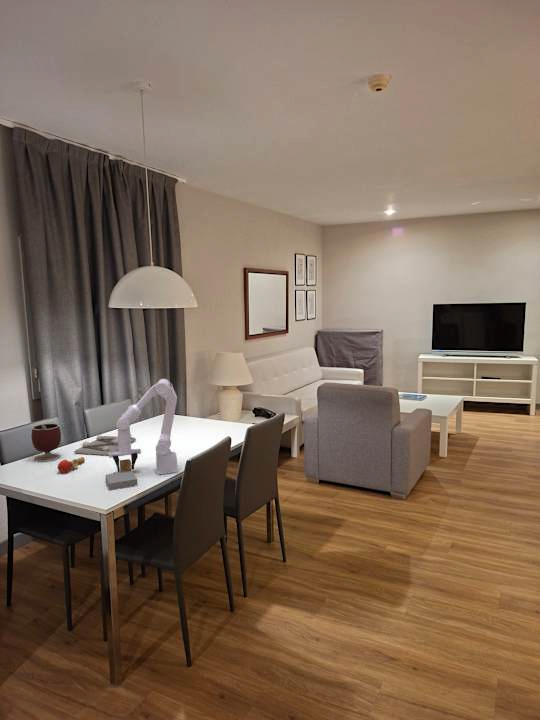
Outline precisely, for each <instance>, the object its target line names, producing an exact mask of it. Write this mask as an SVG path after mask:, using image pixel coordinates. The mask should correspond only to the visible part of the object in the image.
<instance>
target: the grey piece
mask: <svg viewBox="0 0 540 720" xmlns="http://www.w3.org/2000/svg"><path fill="white" fill-rule="evenodd" d="M130 437H131V444H132V443H134V442H136V440H137V439H136V438H135V437H133V436H132V434H130ZM80 445H81V447H80V448H77V449H75V450H74V453H75V454H78V455H89V454H90V455H92V456H104V455H106V456H107V457H109V453H111V452H116V451H119V450H118V436H115V435H114V436H112V435H101V434H98V435H97V436H96V438H95V440H93V441H91V442H90V441H83V443H82V444H80Z"/></svg>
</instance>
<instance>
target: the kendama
mask: <svg viewBox="0 0 540 720" xmlns="http://www.w3.org/2000/svg"><path fill="white" fill-rule="evenodd" d="M85 460H86V459H85V457H83V456H81V457H79V458H76V459H72V460H70V461H69V460H68V459H62V460H61V461H59V463H58V464H57V470H58V472H60V473H62V474H66V473H68V472H70V471H71V470H72V469H74V470H75V469H77V468H78V467H79V464H84V463H85Z"/></svg>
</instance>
